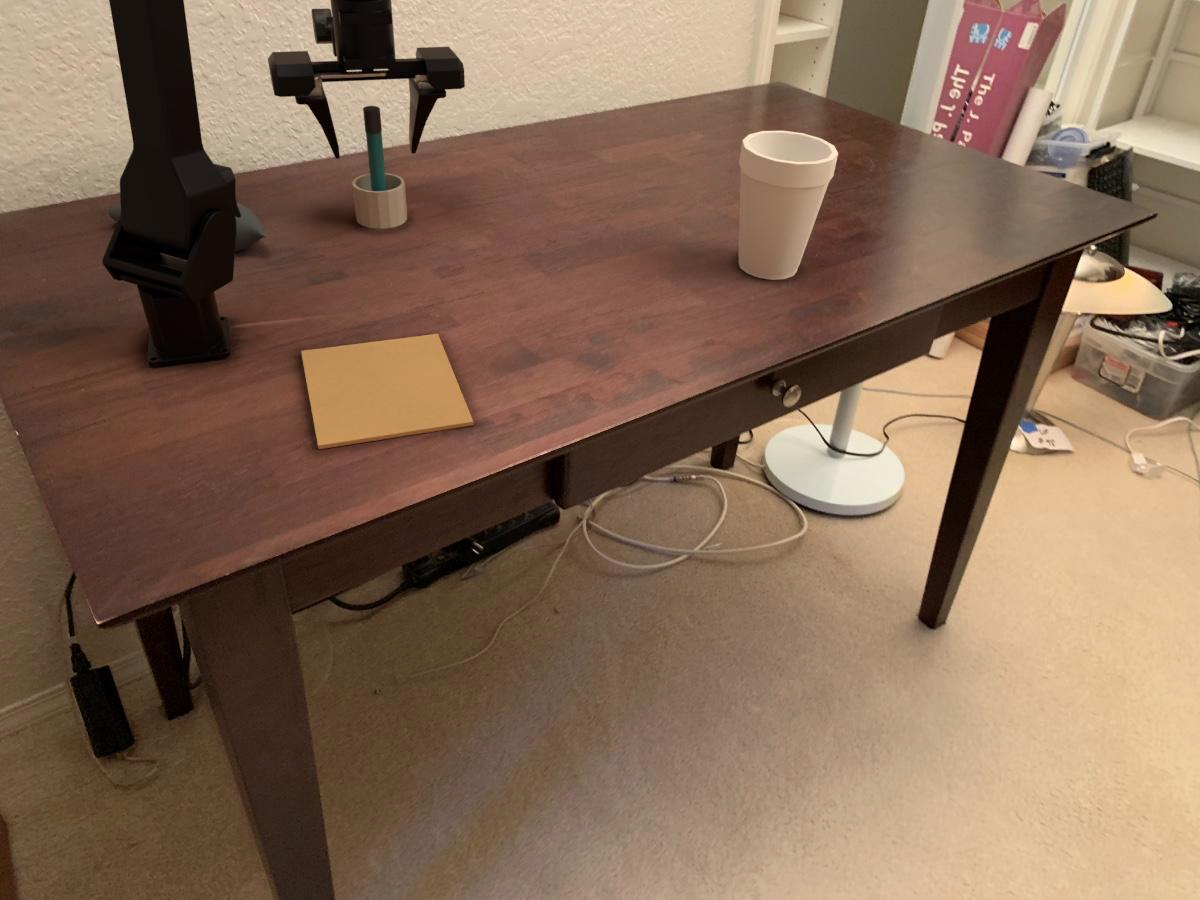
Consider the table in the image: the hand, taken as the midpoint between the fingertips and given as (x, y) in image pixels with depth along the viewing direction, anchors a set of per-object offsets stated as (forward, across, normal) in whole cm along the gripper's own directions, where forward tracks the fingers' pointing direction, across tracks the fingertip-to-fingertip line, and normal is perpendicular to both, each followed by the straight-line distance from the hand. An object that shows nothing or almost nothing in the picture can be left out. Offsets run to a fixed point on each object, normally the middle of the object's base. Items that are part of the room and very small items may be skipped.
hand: (375, 154), depth 97 cm
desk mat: (+8, +5, +33) cm, 34 cm away
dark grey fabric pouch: (+8, +20, +1) cm, 21 cm away
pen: (+7, 0, 0) cm, 7 cm away
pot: (+8, 0, 0) cm, 8 cm away
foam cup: (+8, -38, +20) cm, 44 cm away
